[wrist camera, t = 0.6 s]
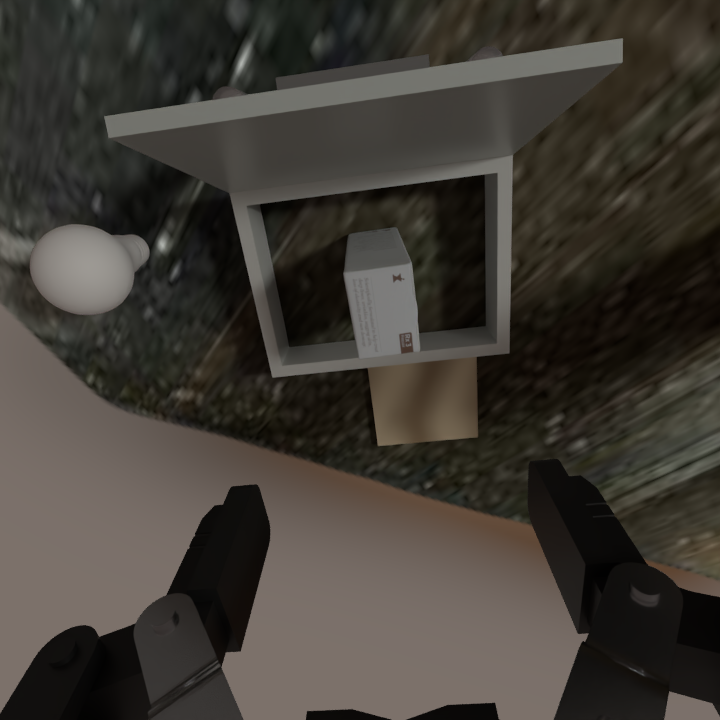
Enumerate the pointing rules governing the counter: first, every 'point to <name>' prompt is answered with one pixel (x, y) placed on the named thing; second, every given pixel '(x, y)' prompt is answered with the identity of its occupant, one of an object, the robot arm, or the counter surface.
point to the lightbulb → (86, 268)
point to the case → (431, 343)
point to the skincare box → (381, 294)
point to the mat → (425, 401)
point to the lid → (368, 118)
